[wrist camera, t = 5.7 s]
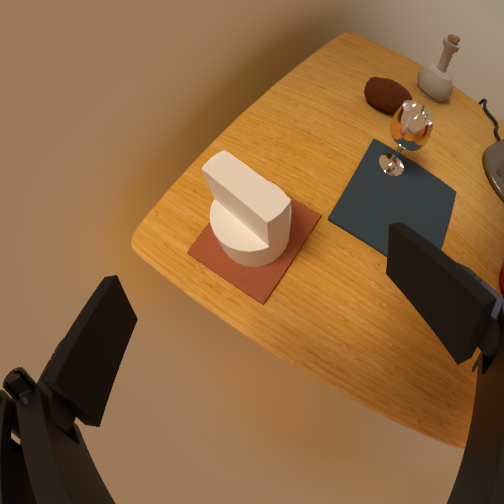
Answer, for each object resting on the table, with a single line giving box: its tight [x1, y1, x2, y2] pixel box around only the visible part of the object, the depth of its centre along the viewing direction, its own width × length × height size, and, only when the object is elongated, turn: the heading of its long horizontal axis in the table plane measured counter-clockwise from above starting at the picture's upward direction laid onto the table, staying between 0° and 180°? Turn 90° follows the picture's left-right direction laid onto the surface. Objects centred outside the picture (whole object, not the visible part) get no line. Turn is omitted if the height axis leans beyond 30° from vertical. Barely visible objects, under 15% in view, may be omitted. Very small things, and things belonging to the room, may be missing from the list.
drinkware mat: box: [327, 139, 456, 257], centre depth 35 cm, size 18×17×1 cm
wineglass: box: [379, 100, 434, 176], centre depth 31 cm, size 6×6×12 cm
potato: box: [364, 77, 412, 114], centre depth 39 cm, size 7×9×6 cm
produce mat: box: [187, 195, 321, 304], centre depth 35 cm, size 14×12×1 cm
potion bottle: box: [418, 35, 460, 102], centre depth 35 cm, size 9×9×18 cm
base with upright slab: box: [202, 150, 292, 267], centre depth 29 cm, size 9×9×12 cm
